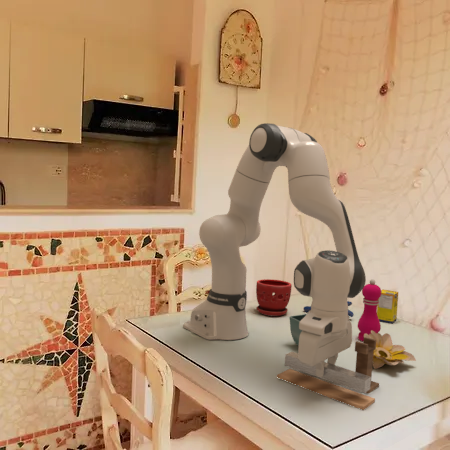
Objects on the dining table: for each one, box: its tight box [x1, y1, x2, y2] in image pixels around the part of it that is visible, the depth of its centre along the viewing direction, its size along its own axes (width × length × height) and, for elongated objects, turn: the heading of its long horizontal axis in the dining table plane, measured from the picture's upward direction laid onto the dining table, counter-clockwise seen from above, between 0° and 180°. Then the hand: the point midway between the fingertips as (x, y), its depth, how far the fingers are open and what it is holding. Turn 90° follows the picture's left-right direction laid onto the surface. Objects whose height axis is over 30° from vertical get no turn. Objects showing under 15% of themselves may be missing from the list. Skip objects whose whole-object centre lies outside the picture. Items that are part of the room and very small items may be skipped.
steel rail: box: [284, 351, 372, 394], centre depth 121 cm, size 22×3×3 cm, turn 49°
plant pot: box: [255, 278, 293, 317], centre depth 186 cm, size 13×13×12 cm
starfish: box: [303, 300, 354, 318], centre depth 189 cm, size 19×19×5 cm
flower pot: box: [289, 313, 308, 347], centre depth 151 cm, size 9×9×9 cm
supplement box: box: [377, 289, 399, 324], centre depth 183 cm, size 6×6×11 cm
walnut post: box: [354, 337, 380, 395], centre depth 124 cm, size 6×6×12 cm
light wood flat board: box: [276, 368, 376, 411], centre depth 122 cm, size 24×6×1 cm, turn 49°
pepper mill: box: [357, 279, 382, 343], centre depth 160 cm, size 7×7×20 cm
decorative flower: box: [364, 330, 417, 370], centre depth 138 cm, size 15×11×10 cm
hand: (325, 373), depth 122 cm, fingers closed on steel rail, 3 cm apart
